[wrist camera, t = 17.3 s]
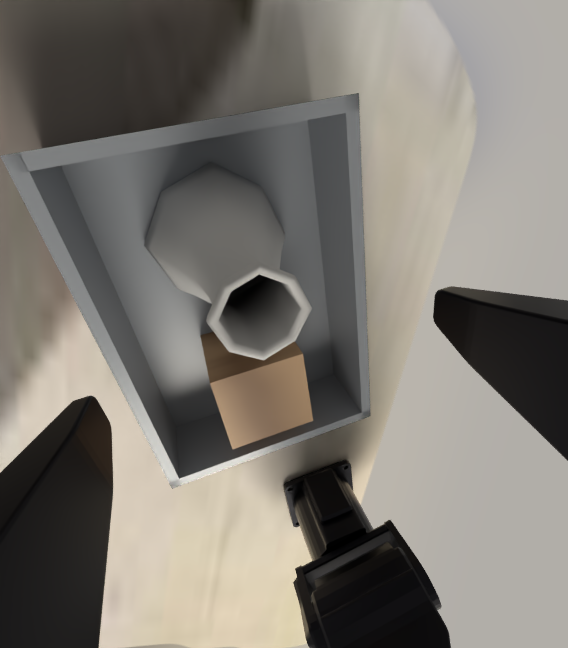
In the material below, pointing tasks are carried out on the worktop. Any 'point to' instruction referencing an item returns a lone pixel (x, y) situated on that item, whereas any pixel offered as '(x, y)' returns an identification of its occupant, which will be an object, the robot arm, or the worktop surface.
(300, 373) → the walnut cube
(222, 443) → the tote
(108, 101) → the worktop surface
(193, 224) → the flask
